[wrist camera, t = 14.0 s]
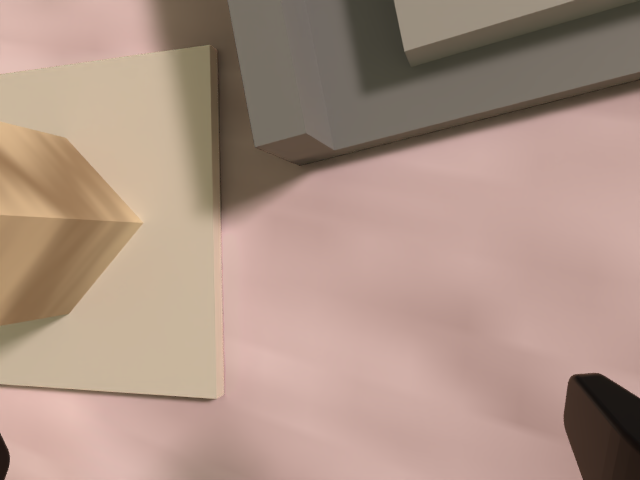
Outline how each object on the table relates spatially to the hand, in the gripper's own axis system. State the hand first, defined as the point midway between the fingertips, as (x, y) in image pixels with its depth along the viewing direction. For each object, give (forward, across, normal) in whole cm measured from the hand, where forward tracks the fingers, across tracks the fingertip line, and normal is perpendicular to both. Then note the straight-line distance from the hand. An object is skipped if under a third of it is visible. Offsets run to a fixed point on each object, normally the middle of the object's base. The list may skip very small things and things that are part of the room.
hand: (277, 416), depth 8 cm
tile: (+14, +10, +2) cm, 17 cm away
